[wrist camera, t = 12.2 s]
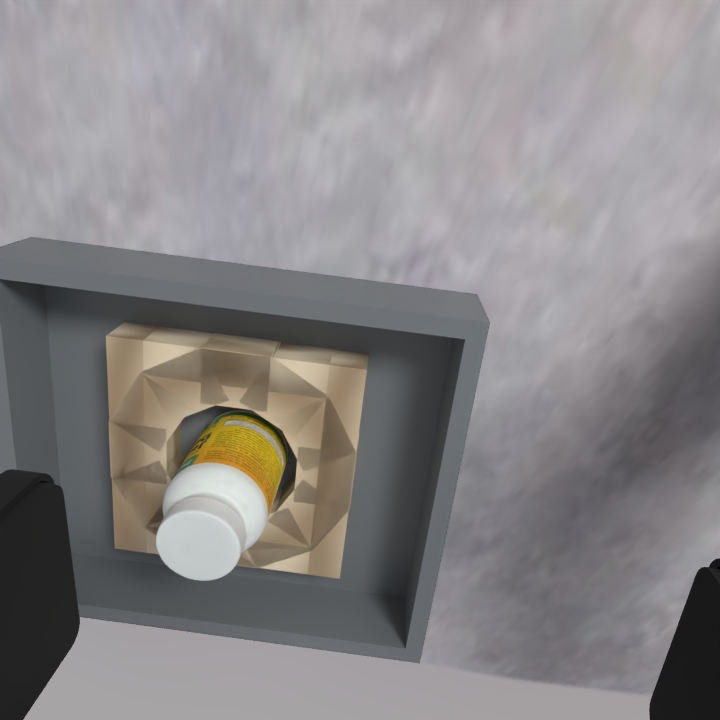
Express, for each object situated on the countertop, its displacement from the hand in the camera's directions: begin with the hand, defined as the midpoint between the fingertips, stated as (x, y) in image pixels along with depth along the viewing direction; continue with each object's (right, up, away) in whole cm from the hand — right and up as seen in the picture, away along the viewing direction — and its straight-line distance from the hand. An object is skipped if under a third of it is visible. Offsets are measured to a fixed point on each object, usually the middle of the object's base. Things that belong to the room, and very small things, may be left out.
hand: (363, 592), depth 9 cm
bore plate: (-7, -2, +28) cm, 29 cm away
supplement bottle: (-7, -2, +28) cm, 29 cm away
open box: (-7, -1, +29) cm, 30 cm away
